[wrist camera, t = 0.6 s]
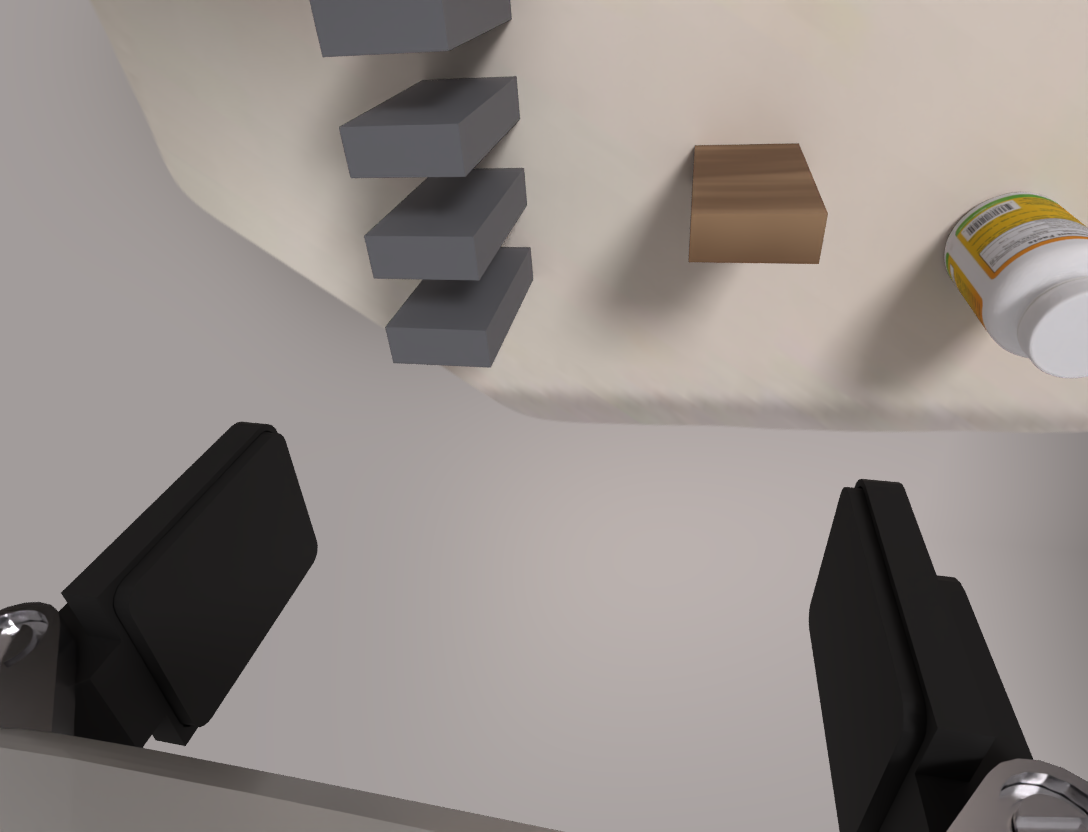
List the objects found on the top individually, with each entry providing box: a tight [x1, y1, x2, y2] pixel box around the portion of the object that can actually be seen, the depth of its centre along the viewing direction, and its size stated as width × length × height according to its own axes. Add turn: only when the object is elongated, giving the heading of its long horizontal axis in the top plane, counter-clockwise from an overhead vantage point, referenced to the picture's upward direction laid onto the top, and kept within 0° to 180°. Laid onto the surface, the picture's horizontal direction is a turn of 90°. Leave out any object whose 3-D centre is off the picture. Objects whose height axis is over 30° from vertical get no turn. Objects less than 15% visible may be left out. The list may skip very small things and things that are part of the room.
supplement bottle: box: [944, 192, 1088, 378], centre depth 30 cm, size 5×5×10 cm
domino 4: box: [385, 247, 533, 367], centre depth 36 cm, size 2×5×10 cm, turn 94°
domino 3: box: [364, 168, 527, 280], centre depth 33 cm, size 2×5×10 cm, turn 94°
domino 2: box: [339, 76, 520, 178], centre depth 31 cm, size 2×5×10 cm, turn 94°
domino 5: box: [689, 144, 828, 264], centre depth 30 cm, size 2×5×10 cm, turn 94°
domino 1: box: [310, 0, 512, 57], centre depth 28 cm, size 2×5×10 cm, turn 94°
